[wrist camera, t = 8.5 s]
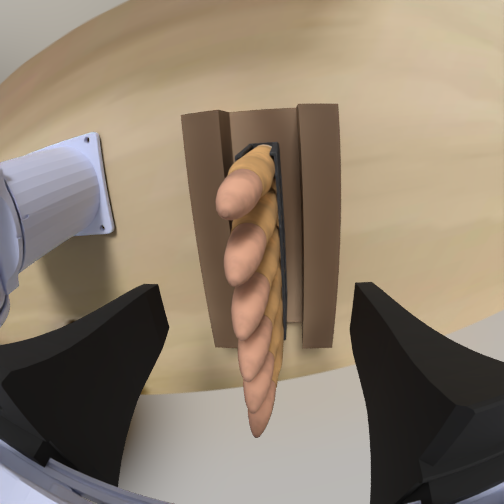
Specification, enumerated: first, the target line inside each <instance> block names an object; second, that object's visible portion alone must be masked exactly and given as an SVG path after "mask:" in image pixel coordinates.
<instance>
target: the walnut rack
mask: <svg viewBox="0 0 504 504" xmlns="http://www.w3.org/2000/svg"><path fill="white" fill-rule="evenodd" d="M181 121H182V131H183V141H184V150H185V159H186V167H187V176H188V184H189V191H190V199H191V206H192V213H193V220H194V227H195V234H196V241H197V247H198V254H199V260H200V266H201V272H202V278H203V284H204V289H205V295H206V301H207V306H208V312H209V317H210V322H211V327H212V332H213V338H214V343H215V347H222V348H238V338H237V337H236V335H235V333H234V329H233V324H232V314H231V307H232V299H233V294H234V290H235V287H233V286H231V285H230V284H229V283H228V281H227V279H226V276H225V270H224V255H225V250H226V246H227V242H228V240H229V237H230V234H231V231H232V222H233V220H225V219H223V218H221V217H220V216H219V214H218V212H217V210H216V196H217V192H218V189H219V187H220V185H221V184H222V182H223V181H224V179H225V178H226V177H227V175H228V172H229V169H230V168H231V166H232V165H233V164H234V162H235V155H237V154H238V153H239V152H240V151H242V150H243V149H244V148H245V147H246V146H247V145H249V144H253V143H266V142H278V143H279V148H280V162H281V176H282V192H283V208H284V227H285V247H286V269H287V322H302V343H303V348H332V343H333V334H334V324H335V313H336V301H337V288H338V273H339V254H340V226H341V156H340V129H339V111H338V104H298V105H297V107H296V108H282V109H264V110H250V111H239V112H225V111H221V110H213V111H205V112H198V113H191V114H185V115H181Z"/></svg>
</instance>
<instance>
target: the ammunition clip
mask: <svg viewBox="0 0 504 504" xmlns="http://www.w3.org/2000/svg"><path fill="white" fill-rule="evenodd" d="M216 210H217V212H218V214H219V216H220V217H221V218H223V219H225V220H233V222H232V231H231V234H230V237H229V240H228V242H227V246H226V250H225V255H224V270H225V276H226V279H227V281H228V283H229V284H230V285H231V286H233V287H235V290H234V294H233V299H232V307H231V314H232V324H233V329H234V333H235V335H236V337H237V338H238V360H239V367H240V371H241V375H242V377H243V387H244V396H245V402H246V405H247V408H248V417H249V424H250V428H251V431H252V434H253V436H254V437H255V438H258V437H260V435H261V434H262V433H263V431H264V430H265V428H266V426H267V424H268V421H269V419H270V416H271V413H272V410H273V405H274V401H275V392H276V387H277V381H278V375H279V372H280V369H281V366H282V357H283V340H286V328H287V269H286V247H285V227H284V208H283V192H282V176H281V162H280V148H279V143H278V142H266V143H253V144H249V145H247V146H246V147H245V148H244V149H243V150H242V151H240V152H239V153H238V154H237V155H235V162H234V164H233V165H232V166H231V168H230V169H229V172H228V175H227V177H226V178H225V179H224V181H223V182H222V184H221V185H220V187H219V189H218V192H217V196H216Z"/></svg>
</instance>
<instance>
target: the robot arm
mask: <svg viewBox="0 0 504 504" xmlns="http://www.w3.org/2000/svg"><path fill="white" fill-rule="evenodd" d="M87 138H89V143H88V142H87ZM102 225H103V226H104V227H105V229H103V227H102ZM113 231H114V222H113V217H112V213H111V208H110V203H109V197H108V192H107V186H106V180H105V174H104V168H103V161H102V154H101V147H100V138H99V134H98V133H96V132H91V133H87V134H84V135H81V136H78V137H74V138H71V139H68V140H65V141H62V142H59V143H56V144H53V145H51V146H48V147H45V148H42V149H40V150H37V151H34V152H32V153H29V154H27V155H24V156H21V157H17V158H14V159H10V160H7V161H3V162H0V327H1V326H2V325H3V323H4V322H5V320H6V318H7V316H8V313H9V310H10V300H9V296H8V295H9V294H10V293H11V292H12V291H13V290H15V289H16V288H17V287H18V286H19V281H18V274H19V273H20V272H21V271H23V270H24V269H26V268H27V267H28V266H30V265H31V264H32V263H34V262H35V261H37V260H38V259H40V258H41V257H42V256H44V255H45V254H47V253H48V252H50V251H51V250H53V249H54V248H56V247H57V246H59V245H60V244H62V243H63V242H65V241H66V240H68V239H69V238H71V237H72V236H83V235H96V234H109V233H111V232H113ZM168 330H169V325H168V321H167V317H166V314H165V310H164V306H163V302H162V298H161V294H160V290H159V286H158V284H143V285H141V286H138V287H136V288H134V289H132V290H131V291H129V292H127V293H125V294H123V295H122V296H120V297H118V298H117V299H115V300H113V301H111V302H110V303H108V304H106V305H105V306H103V307H101V308H99V309H97V310H96V311H94V312H92V313H90V314H88V315H86V316H85V317H83V318H81V319H79V320H77V321H75V322H73V323H71V324H68V325H66V326H64V327H62V328H59V329H57V330H54V331H51V332H49V333H46V334H43V335H40V336H37V337H34V338H31V339H27V340H23V341H19V342H15V343H10V344H4V345H0V504H93V503H91V502H90V501H88V500H86V499H89V500H91V501H93V502H95V503H98V504H173V503H169V502H165V501H161V500H157V499H153V498H149V497H146V496H143V495H139V494H136V493H133V492H130V491H127V490H124V489H121V488H118V481H119V473H120V466H121V460H122V455H123V450H124V446H125V441H126V437H127V433H128V430H129V426H130V422H131V419H132V416H133V413H134V409H135V406H136V404H137V401H138V398H139V396H140V394H141V391H142V389H143V387H144V385H145V383H146V381H147V379H148V377H149V375H150V373H151V371H152V369H153V367H154V365H155V363H156V361H157V359H158V357H159V355H160V353H161V351H162V349H163V346H164V343H165V340H166V337H167V333H168ZM350 336H351V343H352V350H353V355H354V359H355V363H356V366H357V370H358V374H359V378H360V382H361V386H362V390H363V394H364V398H365V402H366V408H367V414H368V424H369V435H370V449H371V450H370V452H371V495H370V504H504V362H502V361H499V360H496V359H493V358H490V357H487V356H485V355H482V354H480V353H477V352H475V351H473V350H470V349H468V348H466V347H464V346H462V345H460V344H458V343H456V342H454V341H452V340H450V339H449V338H447V337H445V336H444V335H442V334H440V333H439V332H437V331H435V330H434V329H432V328H431V327H429V326H427V325H426V324H425V323H423V322H422V321H420V320H419V319H418V318H416V317H415V316H413V315H412V314H411V313H410V312H408V311H407V310H406V309H404V308H403V307H402V306H401V305H399V304H398V303H397V302H396V301H395V300H393V299H392V298H391V297H390V296H389V295H387V294H386V293H385V292H384V291H383V290H381V289H380V288H379V287H378V286H376V285H375V284H374V283H372V282H362V283H355V290H354V299H353V308H352V316H351V323H350ZM81 496H82V497H84V498H86V499H84V498H82V497H81Z"/></svg>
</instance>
